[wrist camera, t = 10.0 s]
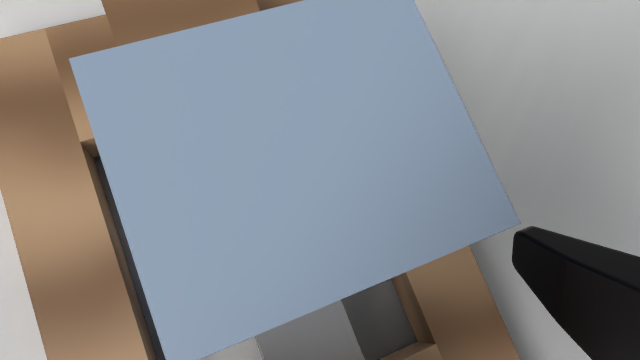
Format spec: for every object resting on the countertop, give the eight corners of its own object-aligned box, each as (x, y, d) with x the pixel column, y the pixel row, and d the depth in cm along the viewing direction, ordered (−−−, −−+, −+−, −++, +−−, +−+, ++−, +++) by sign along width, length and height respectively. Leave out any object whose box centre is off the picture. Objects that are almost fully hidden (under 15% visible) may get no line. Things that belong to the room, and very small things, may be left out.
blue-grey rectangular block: (306, 163, 21) (402, -25, 9) (352, 276, 20) (520, 223, 8) (163, 211, 19) (68, 59, 8) (206, 337, 18) (169, 371, 7)
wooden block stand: (526, 428, 21) (625, 465, 16) (145, 638, 17) (108, 782, 12) (332, -13, 25) (359, -99, 20) (-15, 71, 21) (-96, -10, 16)
